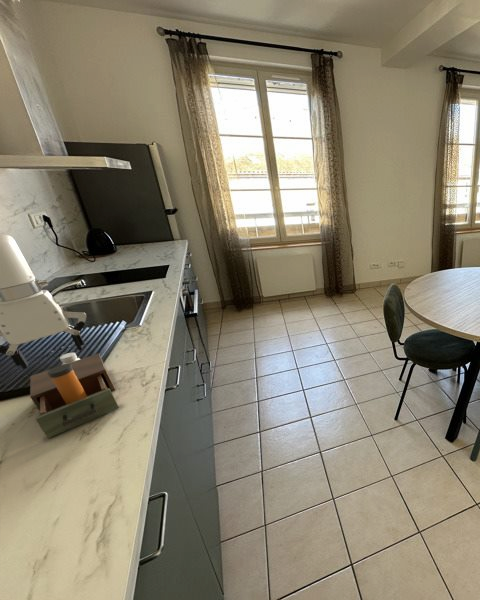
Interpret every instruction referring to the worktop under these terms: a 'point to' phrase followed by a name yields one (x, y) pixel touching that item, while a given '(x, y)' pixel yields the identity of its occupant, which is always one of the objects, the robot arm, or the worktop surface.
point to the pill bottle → (69, 358)
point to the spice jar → (67, 383)
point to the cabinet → (82, 370)
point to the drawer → (75, 407)
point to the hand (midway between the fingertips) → (54, 357)
